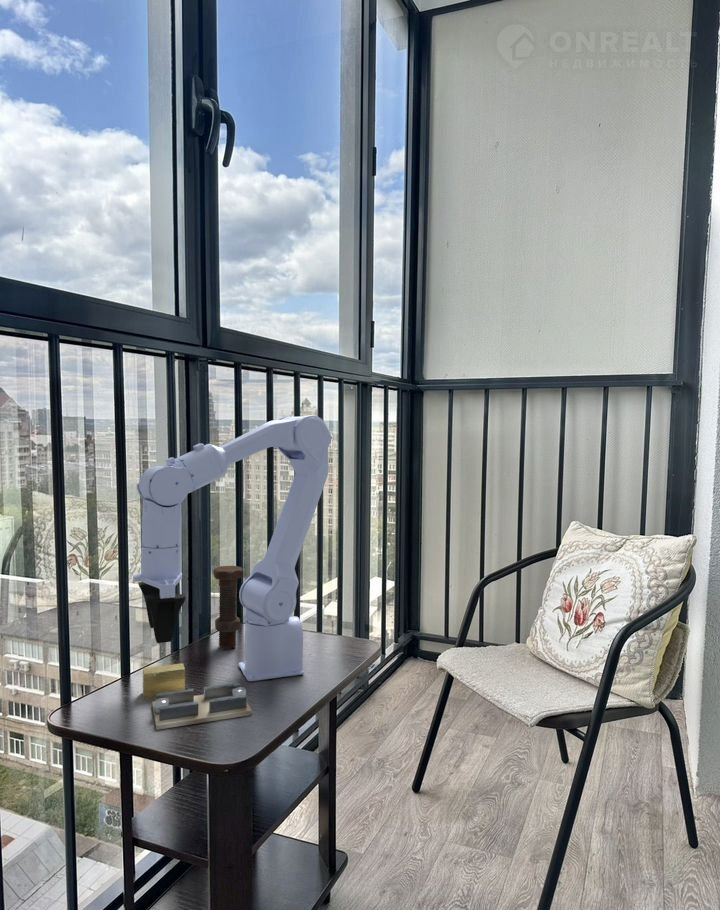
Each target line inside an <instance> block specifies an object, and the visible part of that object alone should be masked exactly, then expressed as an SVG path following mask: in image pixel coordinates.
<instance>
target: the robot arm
mask: <svg viewBox="0 0 720 910" xmlns="http://www.w3.org/2000/svg"><path fill="white" fill-rule="evenodd" d="M332 438H333V437H332V434H331V432H330V430H329V428H328V425H327V424H326V423H325V421H324V419H323V418H321V417H319V416H317V415H315V414H314V415H313V414H312V415H311V414H310V415H306V416H290V415H289V416H288V415H285V416H281V417H280V418H278V419H274V420H273V419H272V420H270V421H267V422H266V423H262V424H261V425H259V426H257V427H255V428H254V429H252V430H249V431H248V432H246V433H244V434H242V435H240V436H237V437H236V438H234V439H232V440H230V441H229V442H227V443H225V444H223V445H221V446H217V445H214V444H211V443H207V444H204V443H197V444H195V445H193V446H192V448H193V450H192V451H189V452H186V453H185V454H183V455H181V456H178V457H176V458H175V457H168V458H167V459H165V462H166V464H165V466H162V465H156V466H151V467H149V468H147V469H145V470H144V471H143V474H141V475H140V477H139V479H138V480H139V482H138V483H136V490H137V493H138V495H139V496H140V497H141V498H142V515H141V572H140V573H138V574H136V573H135V574H133V575H132V580H133V582H137V584H138V587H139V589H140V590H141V592H142V595H143V598H144V602H145V607H146V612H147V619H148V623H149V627H150V629H153V632H154V633H153V635H154V638H155V641H156V644H160V643H161V644H162V643H163V644H164V643H171V642H172V640H173V637H174V632H175V629H176V624H177V619H178V616H179V613H180V611H181V609H182V607H183V605H184V603H185V602H186V594H184V593H180V594H177V593H176V586H177V585H178V584H179V583H180V581H181V580H182V579H183V573H182V522H183V521H182V517H183V516H182V502H183V501H184V500H185V499H186V498H187V496H188V494H190V493H193V492H195V491H197V490H198V489H200V488H202V487H205V486H206V485H208V484H209V485H210V484H211V483H212V482H215V481H217V480H219V479H221V478H223V477H224V476H225V475H226V473H227V471H228V469H229V466H230V465H232V464H234V463H236V462H239V461H242V460H243V459H245V458H248V457H251V456H253V455H255V454H258V453H260V452H262V451H264V450H266V449H269V448H272V447H273V448H277V449H278V450H279V451H280V452H281V454H283V456H284V457H285V458H286V459H287V460H288V461H289V463H290V465H291V466H292V469H293V471H294V473H295V474H294V478H293V479H292V483H291V485H290V488H289V490H288V493H287V496H286V499H285V502H284V504H283V506H282V509H281V512H280V514H279V518H278V521H277V523H276V525H275V528H274V531H273V534H272V536H271V538H270V541H269V545H268V547H267V550H266V553H265V555H264V558H262V559H261V560H260V561H259V562H258V563H256V564H255V565H254V566H253V568H252V570H251V573H250V574H249V576H248V577H247V578H246V579H244V581H243V583H242V584H241V586H240V588H239V592H238V593H239V594H238V595H239V598H238V599H239V602H240V604H241V605H242V607H243V608H245V622H244V623H245V632H244V633H245V635H244V661H240V662H239V663H238V667H239V669H241V672H242V674H243V676H244V677H245V679H246V680H247V682H256V681H257V682H258V681H263V680H270V679H278V678H284V677H285V678H286V677H292V676H293V677H294V676H299V675H304V674H305V671H304V670H303V659H304V633H303V632H304V631H303V625H302V622H301V619H300V618H299V617H298V616H297V615H295V616H292V615H293V613H294V611H295V610H296V607H297V606H296V605H297V590H298V587H299V583H300V581H299V579H298V576H297V573H296V570H295V567H296V564H297V562H298V559H299V556H300V554H301V550H302V548H303V545H304V542H305V539H306V537H307V534H308V531H309V528H310V526H311V523H312V520H313V518H314V515H315V512H316V508H317V507H318V503H319V501H320V498H321V496H322V493H323V490H324V487H325V485H326V481H327V479H328V475H329V469H330V468H329V467H330V466H329V446H330V444H331V442H332V440H333V439H332Z"/></svg>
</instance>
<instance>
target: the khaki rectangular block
mask: <svg viewBox="0 0 720 910" xmlns="http://www.w3.org/2000/svg"><path fill="white" fill-rule="evenodd" d="M180 690H186V668H185V665H184V663H174V664H166V665H158V666H148V667H142V698H143V701H145V700H151V699H156V694H158V693H165V692H172V691H180Z"/></svg>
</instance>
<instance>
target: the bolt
mask: <svg viewBox="0 0 720 910" xmlns="http://www.w3.org/2000/svg"><path fill="white" fill-rule="evenodd" d="M213 577H214V578H215V580H218V586H219V592H218V593H219V596H218V597H219V599H218V602H219V603H218V604H219V606H218V607H219V608H218V610H219V612H218V614H219V615H218V617H217V618H215V620H214V626H215V627H214V628H215V630H216V631H218V637H219V638H218V647H219V648H220V649H223V650H226V651H227V650H231V649H234V648H235V647H236V646H237V631H238V630H239V629H240V628H241V619H240V617H238V616H237V599H238V598H237V593H238V592H237V591H238V589H237V588H238V579H242V578H244V570H243V568H242V566H237V565H221V566H216V567H215V568H214V569H213Z"/></svg>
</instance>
